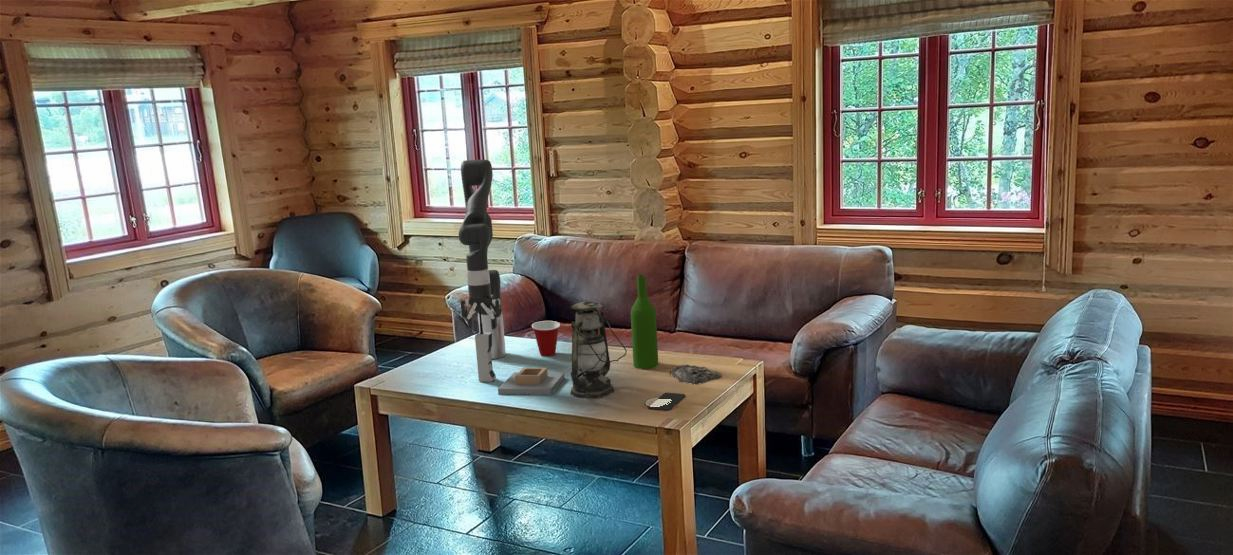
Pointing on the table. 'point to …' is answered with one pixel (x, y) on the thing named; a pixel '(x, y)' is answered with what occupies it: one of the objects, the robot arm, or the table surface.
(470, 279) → the robot arm
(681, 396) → the phone
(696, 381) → the geode
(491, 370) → the vintage mobile phone
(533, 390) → the square socket base
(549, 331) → the plastic cup
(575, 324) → the lantern
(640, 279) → the wine bottle
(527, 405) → the table surface
